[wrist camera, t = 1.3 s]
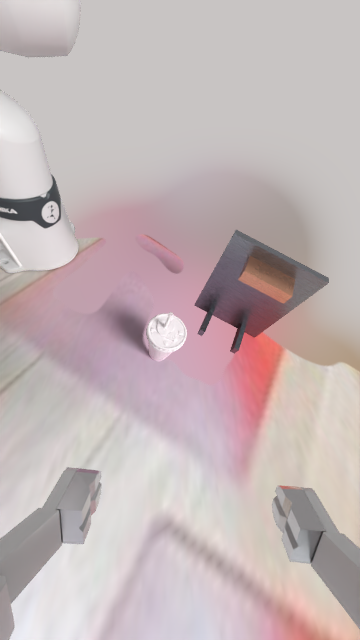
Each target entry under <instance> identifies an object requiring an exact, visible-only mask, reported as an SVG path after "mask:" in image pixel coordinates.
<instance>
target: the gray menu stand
mask: <svg viewBox="0 0 360 640" xmlns="http://www.w3.org/2000/svg"><path fill="white" fill-rule="evenodd" d="M328 283H329V279H328V277H326V276H324V275H322V274H320V273H318V272H316V271H314V270H312V269H310V268H308V267H307V266H305V265H303V264H301V263H299V262H297V261H295V260H293V259H291V258H289V257H287V256H285V255H284V254H282V253H280V252H278V251H276V250H274V249H272V248H270V247H268V246H266V245H264V244H263V243H261V242H259V241H257V240H255V239H253V238H251V237H249V236H247V235H245V234H243V233H242V232H239V231H238V230H236V231H235V233H234V234H233V236H232V238H231V240H230V242H229V243H228V245H227V247H226V249H225V251H224V252H223V254H222V256H221V258H220V260H219V262H218V263H217V265H216V267H215V269H214V271H213V273H212V274H211V276H210V278H209V280H208V281H207V283H206V285H205V287H204V289H203V290H202V292H201V294H200V296H199V298H198V300H197V301H196V303H195V306H197V307H199V308H201V309H202V310H204V311H206V312H207V314H206V317H205V319H204V321H203V323H202V325H201V328H200V330H199V332H198V334H199V335H203V334H204V332H205V330H206V328H207V326H208V324H209V321H210V319H211V316H212V315H214V316H216V317H217V318H219V319H221V320H223V321H225V322H227V323H229V324H231V325H233V326H234V327H236V328H238V329H237V332H236V335H235V338H234V341H233V344H232V347H231V350H230V351H231V352H233V353H235V352H237V351H238V350H239V348H240V344H241V341H242V338H243V334H244V332H246V333H247V334H249V335H251V336H253V337H256V336H257V335H259V334H260V333H261V332H263V331H264V330H265V329H267V328H268V327H269V326H271V325H272V324H274V323H275V322H276V321H278V320H279V319H280V318H282V317H283V316H285V315H286V314H287V313H289V312H290V311H291V310H293V309H294V308H295V307H297V306H298V305H299V304H301V303H302V302H303V301H305V300H306V299H308V298H309V297H310V296H312V295H313V294H314V293H316V292H317V291H318V290H320V289H321V288H323V287H324V286H325V285H327V284H328Z"/></svg>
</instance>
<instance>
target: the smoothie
mask: <svg viewBox="0 0 360 640" xmlns="http://www.w3.org/2000/svg"><path fill="white" fill-rule="evenodd" d="M146 335H147V339H148V341H149V355H150V357H151V358H152V359H153V360H155V361H162V360H164V359H165V358H166V357H167V356H168V355H170V354H171V353H172V352H173V351H175V350H177V349H179V348H180V347H181V346H182V345H183V343H184V342H185V339H186V336H187V331H186V327H185V325H184V323H183V322H182V321H181V320H180V319H179V318H177V317H176V316H174V315H173V313H171V312H170V313H169V314H159V315H157V316H155V317H154V318H152V319H151V321H150V322H149V324H148V327H147V332H146Z"/></svg>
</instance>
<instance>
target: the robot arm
mask: <svg viewBox="0 0 360 640" xmlns="http://www.w3.org/2000/svg"><path fill="white" fill-rule="evenodd" d="M79 23H80V0H0V51H4V52H8V53H12V54H17V55H21V56H25V57H55V56H67V55H68V54H69V53H70V51H71V49H72V48H73V45H74V44H75V40H76V38H77V34H78V30H79ZM74 233H75V227H74V225H73V223H71V222H70V221H69V218H68V215H67V212H66V210H65V207H64V204H63V202H62V199H61V198H60V194H59V189H58V186H57V184H56V181H55V179H54V177H53V176H52V175H51V172H50V169H49V165H48V161H47V157H46V154H45V150H44V147H43V143H42V139H41V136H40V132H39V130H38V128H37V125H36V124H35V122H34V120H33V119H32V117H31V116H30V115H29V114H28V112H27V111H26V110H25V109H24V108H23V107H22V106H21V105H20V104H19V103H18V102H17V101H15V100H14V99H13V98H12V97H10V96H9V95H8V94H6V93H5V92H3V91H1V90H0V267H1V268H2V269H3V270H4V271H5V272H7V273H16V272H21V271H25V270H38V271H41V270H50V269H55V268H58V267H61V266H63V265H65V264H67V263H68V262H70V261H71V260H72V259H73V258H74V257H75V256H76V254H77V252H78V241H77V239H76V237H75V235H74ZM7 263H8V264H7ZM100 479H101V471H96V470H87V469H79V468H67V469H66V470H65V471H64V472H63V474H62V475H61V477H60V479H59V480H58V482H57V484H56V486H55V487H54V489H53V491H52V492H51V494H50V496H49V497H48V499H47V501H46V502H45V504H44V506H43V507H42V508H38V509H37V510H35V511H34V512H33V513H32V514H31V515H29V516H28V517H27V518H26V519H24V520H23V521H22V522H21V523H19V524H18V525H17V526H16V527H14V528H13V529H12V530H11V531H10V532H8V533H7V534H6V535H5V536H3V537H2V538H1V539H0V640H9V638H10V636H11V634H12V632H13V630H14V628H15V627H14V618H13V613H12V608H11V603H12V602H13V601H14V600H15V598H16V597H17V596H18V595H19V594H20V593H21V592H22V590H23V589H24V588H25V587H26V586H27V585H28V583H29V582H30V581H31V580H32V579H33V578H34V576H35V575H36V574H37V573H38V572H39V571H40V570H41V568H42V567H43V566H44V565H45V564H46V563H47V561H48V560H49V559H50V558H51V557H52V556H53V555H54V553H55V552H56V551H57V550H58V549H59V548H60V546H61V545H62V543H68V544H84V541H85V539H86V536H87V533H88V530H89V528H90V525H91V515H92V514H93V513H94V512H95V511H96V508H97V506H98V503H99V499H100V495H101V483H100V482H99V481H100ZM275 492H276V494H277V496H276V497H275V498H274V499H273V503H272V510H273V516H274V520H275V522H276V525H277V527H278V528H279V529H280V530H281V531H282V533H283V535H282V542H283V544H284V547H285V550H286V552H287V555H288V558H289V561H292V562H300V563H309V564H311V566H312V567H313V569H314V570H315V571H316V573H317V574H318V575H319V576H320V578H321V579H322V580H323V582H324V583H325V584H326V586H327V587H328V588H329V590H330V591H331V592H332V594H333V595H334V596H335V597H336V599H337V600H338V601H339V603H340V604H341V605H342V607H343V608H344V609H345V611H346V612H347V613H348V615H349V616H350V617H351V618H352V620H353V621H354V622H355V624H356V625H357V626H358V628H359V629H360V549H359V548H358V547H357V546H356V545H355V544H354V543H353V542H352V541H351V540H350V539H349V538H348V537H346V536H345V535H344V534H342V533H339V531H338V529H337V528H336V526H335V524H334V523H333V521H332V519H331V518H330V516H329V514H328V513H327V511H326V509H325V508H324V506H323V504H322V503H321V501H320V499H319V498H318V496H317V494H316V493H315V491H314V490H313V489H312V488H301V487H293V486H277V487H276V491H275Z"/></svg>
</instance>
